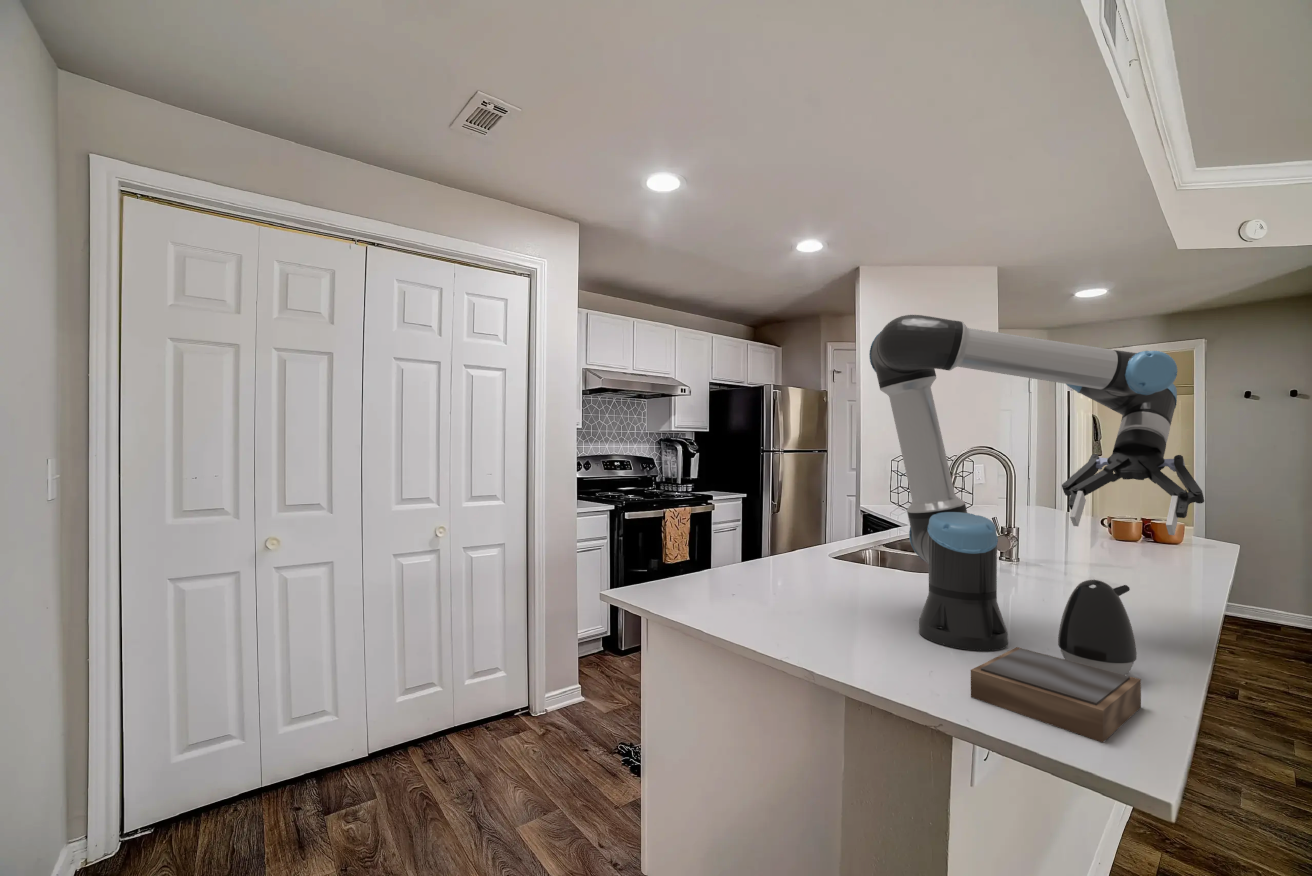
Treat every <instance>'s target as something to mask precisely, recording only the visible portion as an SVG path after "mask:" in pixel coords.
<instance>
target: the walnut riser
mask: <svg viewBox="0 0 1312 876" xmlns="http://www.w3.org/2000/svg"><path fill="white" fill-rule="evenodd" d="M970 697H971V698H973V699H976V700H978V701H982V702H984V703H986V704H990V705H993V706H996V707H998V708H1002V709H1005V710H1008V711H1010V712H1013V713H1016V714H1019V715H1022V716H1025V717H1028V718H1031V719H1034V720H1037V721H1040V722H1043V723H1045V724H1047V725H1051V726H1054V727H1057V728H1060V729H1063V730H1065V731H1068V732H1072V733H1075V734H1077V735H1080V736H1082V737H1086V738H1088V739H1092V740H1095V741H1097V742H1100V743H1104V742H1105V741H1106V740H1108V739H1109V738H1110V737H1111V736H1112V735H1113V734H1115V732H1116V731H1117V730H1118V729H1119V728H1121V727H1122V726H1124V724H1125V723H1126V722H1127V721H1128V720H1130V718H1132V717H1133V715H1135V714H1136V712H1138V711H1139V710H1140V709H1141V708H1142V679H1141V678H1138V677H1133V676H1130V675H1127V674H1126V675H1122V674H1118V673H1114V672H1111V671H1107V670H1103V669H1099V668H1095V667H1091V666H1088V665H1084V664H1080V663H1076V662H1072V661H1068V660H1065V659H1064V658H1060V657H1056V656H1053V655H1048V654H1045V653H1041V652H1037V651H1033V650H1029V649H1025V648H1022V647H1018V646H1017V647H1014V648H1012V649H1010V650H1008V651H1006V652H1004V653H1002V654H1000V655H998V656H996V657H994V658H991V659H990V660H988V661H986V662H983V663H982V664H979V665H978V666H976V667H974V668H972V669H970Z"/></svg>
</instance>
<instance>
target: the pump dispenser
mask: <svg viewBox="0 0 1312 876" xmlns="http://www.w3.org/2000/svg"><path fill="white" fill-rule="evenodd" d="M1130 591H1131V589H1130V587H1129V586H1128V585H1127V584H1123V585H1120V586H1116V587H1112V586H1111V585H1110V584H1108V583H1106V582H1104V581H1102V580H1099V579H1086V580H1084V581H1082V582H1080V583H1079V584H1078V585H1077V586H1075V588H1074V589H1073V591H1072V592H1071V594H1070V595H1069V598H1068V600H1067V602H1066V604H1065V607H1064V610H1063V612H1062V616H1061V619H1060V624H1059V629H1058V635H1057V646H1058V648H1060V652H1061V654H1062V656H1063V659H1065V660H1068V661H1072V662H1076V663H1080V664H1084V665H1088V666H1091V667H1095V668H1099V669H1103V670H1107V671H1111V672H1114V673H1118V674H1122V675H1126V676H1127V674H1128V673H1129V672H1131V670H1132V667H1133V665H1134V662H1135V661H1137V657H1138V656H1137V654H1138V653H1137V646H1136V640H1135V635H1134V630H1133V626H1132V623H1131V620H1130V618H1129V614H1128V612H1127V610H1126V607H1125V605H1124V603H1123V602H1122V599H1121V598H1120V596H1122V595H1124V594H1125V593H1128V592H1130Z"/></svg>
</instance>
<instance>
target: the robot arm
mask: <svg viewBox="0 0 1312 876" xmlns="http://www.w3.org/2000/svg"><path fill="white" fill-rule="evenodd" d="M869 362H870V365H871V367H872V369H873V370H874V372H875V373H876V378H877V382H878V385H879V390H880V391H881V392H883V393H884V394H886V395H887V396H888V398H889V402H890V406H891V411H892V416H893V420H894V424H895V429H896V434H897V439H898V442H899V447H900V452H901V456H902V460H903V465H904V468H905V469H904V470H905V474H906V479H907V482H908V488H909V492H910V497H911V503H910V505H909V506H908V507H907V509H906V512H907V513H906V514H907V517H908V523H909V526H910V527H909V530H908V531H909V532H908V537H909V539H908V540H909V542H910V545H911V548H912V550H913V551H914V552H915V554H916V555H917V556H918V557H919V558H920V559H921V560H922V561H923V562H925V563H926V564H928V593H927V597H926V600H925V603H924V606H923V609H922V611H921V614H920V617H919V620H918V633H919V634H920V635H921V636H922V637H923V638H924V639H927V640H929V641H930V642H933V643H936V644H939V645H943V646H946V647H950V648H956V649H962V650H969V651H979V652H980V651H984V652H985V651H986V652H987V651H989V652H990V651H998V650H1002V649H1005V648H1006V647H1008V645H1009V633H1008V629H1007V627H1006V623H1005V621H1004V618H1003V616H1002V612H1001V610H1000V607H999V604H998V596H997V594H998V592H997V589H998V588H997V587H998V585H997V582H998V581H997V579H998V573H997V572H998V571H997V570H998V569H997V568H998V561H997V560H998V559H997V558H998V557H997V556H998V542H999V537H998V535H997V527H996V524H995V522H993V521H992V520H991V519H989V518H988V517H986V516H982V515H979V514H978V515H977V514H975V513H969V512H968V510H967V506H966V502H965V501H964V500H963V499H961V498H960V497H959V496H957V495H956V493H955V489H954V484H953V480H952V475H951V472H950V467H949V463H948V462H949V461H948V458H947V454H946V453H947V452H946V448H945V445H944V441H943V435H942V432H941V427H940V422H939V418H938V413H937V409H936V405H935V401H934V395H933V392H932V388H931V387H932V386H933V384H934V382H935V380H936V379H937V374H936V370H943V371H952V370H954V369H955V368H957V367H958V368H959V367H960V368H963V369H970V370H974V371H975V370H976V371H982V372H990V373H995V374H1001V375H1008V376H1014V377H1020V378H1025V379H1026V378H1027V379H1033V380H1034V379H1035V380H1038V381H1039V380H1040V381H1045V382H1046V381H1047V382H1051V383H1052V382H1053V383H1058V384H1065V385H1066V386H1067V387H1068V388H1071V389H1072V390H1074V391H1075V392H1077V394H1081V395H1082V396H1085V397H1087V398H1089V399H1091V400H1093V401H1095V402H1096V403H1099V404H1100V405H1102V406H1104V407H1106V408H1108V409H1110V410H1112V411H1114V412H1115V413H1118V414H1119V415H1121V420H1120V421H1121V422H1120V425H1119V428H1118V431H1117V433H1116V434H1117V435H1116V439H1115V441H1114V446H1113V450H1112V454H1111V455H1110V456H1109V457H1099V456H1100V455H1098V454H1096V453H1092V454H1091V455H1090V457H1089V459H1088V461H1087V462H1086V463H1085V464H1083V466H1082V467H1081V468H1079V469H1078V470H1077V471H1076V472H1074V473H1073V474H1072V475H1071V476H1070V477H1069V478H1068V479H1066V480H1065V482H1063V483H1062V484H1061V488H1062V490H1063V493H1064V496H1067V497H1069V499H1068V507H1069V508H1070V510H1071V512H1070V515H1069V518H1070V521H1071V523H1072V526H1073V527H1079V525H1080V522H1081V519H1082V515H1083V512H1084V508H1085V505H1086V502H1087V501H1086V500H1087V499H1086V496H1087V495H1089V494H1091V493H1093V492H1095V491H1097V490H1098V489H1101V488H1102V487H1104V486H1105V485H1108V484H1109V483H1115V482H1117V481H1118V480H1120V479H1122V480H1137V481H1145V479H1148V480H1150V481H1151V482H1152V483H1154V484H1156V485H1157V486H1158V487H1160V488H1161V489H1162V490H1163V491H1165V492H1166V493H1167V494H1168V495H1169V496H1170V497H1171V498H1170V503H1169V508H1168V513H1167V516H1166V517H1167V518H1166V522H1165V527H1166V530H1167V534H1168V535H1169V536H1175V535H1176V529H1177V525H1178V520H1179V519H1180V518H1181V519H1185V518H1186V517H1187V515H1188V509H1189V505H1190V504H1193V503H1196V504H1204V503H1205V497H1204V493H1203V490H1202V489H1201V487H1200V486H1199V484H1198V483H1197V482H1196V480H1195V478H1194V477H1193V476H1192V475H1191V473H1190V472H1189V470H1188V469H1187V467H1186V464H1185V460H1184V456H1183V455H1182V454H1176V455H1175V456H1174V457H1173V458H1164V456H1165V453H1166V449H1167V443H1168V439H1169V435H1170V430H1171V425H1172V422H1173V417H1174V412H1175V409H1176V407H1177V403H1178V401H1177V399H1178V397H1177V396H1178V390H1177V387H1176V385H1175V384H1174V382H1175V381H1176V380H1177V376H1178V366H1177V365H1178V364H1177V363H1176V361H1175V359H1174V358H1173V357H1172V356H1170V354H1167V352H1163V351H1160V350H1143V351H1139V352H1132V351H1125V350H1119V349H1118V350H1117V349H1116V350H1115V349H1110V348H1104V347H1098V346H1097V347H1096V346H1091V345H1083V344H1078V343H1071V342H1063V341H1056V340H1051V339H1043V338H1036V337H1030V336H1023V335H1017V334H1011V333H1003V332H998V331H997V332H996V331H990V330H983V329H978V328H977V329H976V328H970V327H968V326H966V324H965V323H964V322H963V321H959V320H954V319H947V318H943V317H942V318H940V317H935V316H929V315H922V314H906V315H901V316H898V317H896V318H894V319H892V320H890V321H889V322H888V323H887V324H886V325H885V326H884V327H883V329H881V331H880V332H879V333H878V334H876V335H875V337H874V339H873V340H872V343H871V344H870V348H869ZM935 369H936V370H935ZM1103 467H1104V468H1103ZM1166 467H1168V468H1169V469H1170V470H1171V471H1172V472H1176V476H1177V477H1178V479H1179V480H1180V482H1181V483H1182V485H1183V486H1184V489H1183V488H1182V487H1181V486H1180V485H1179V484H1177V483H1176V482H1175V481H1174V480H1172V479H1171V478H1170V477H1168V476H1167V475H1166V474H1165V473H1163V472H1162V471H1161V470H1164V469H1165V468H1166ZM1099 470H1100V471H1099Z"/></svg>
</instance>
